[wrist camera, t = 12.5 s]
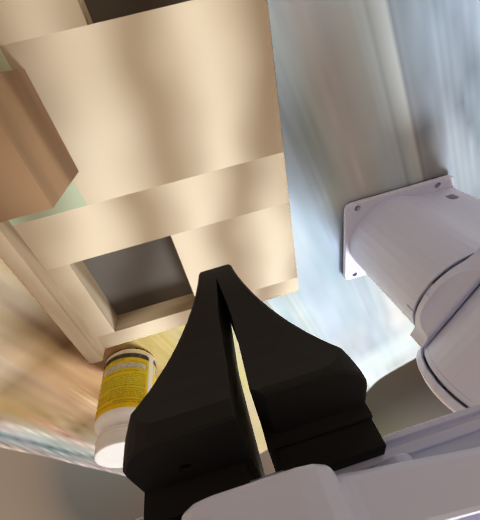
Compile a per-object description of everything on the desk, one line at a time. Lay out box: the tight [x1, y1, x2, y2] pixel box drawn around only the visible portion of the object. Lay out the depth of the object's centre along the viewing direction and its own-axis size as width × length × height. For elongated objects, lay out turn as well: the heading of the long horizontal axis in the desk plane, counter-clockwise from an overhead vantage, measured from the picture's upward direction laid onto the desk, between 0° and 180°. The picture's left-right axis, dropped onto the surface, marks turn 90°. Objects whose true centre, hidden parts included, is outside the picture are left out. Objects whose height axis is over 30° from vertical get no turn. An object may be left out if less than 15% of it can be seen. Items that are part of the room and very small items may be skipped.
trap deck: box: [0, 0, 299, 364], centre depth 18 cm, size 18×27×3 cm, turn 11°
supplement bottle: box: [94, 349, 156, 468], centre depth 26 cm, size 5×5×8 cm
